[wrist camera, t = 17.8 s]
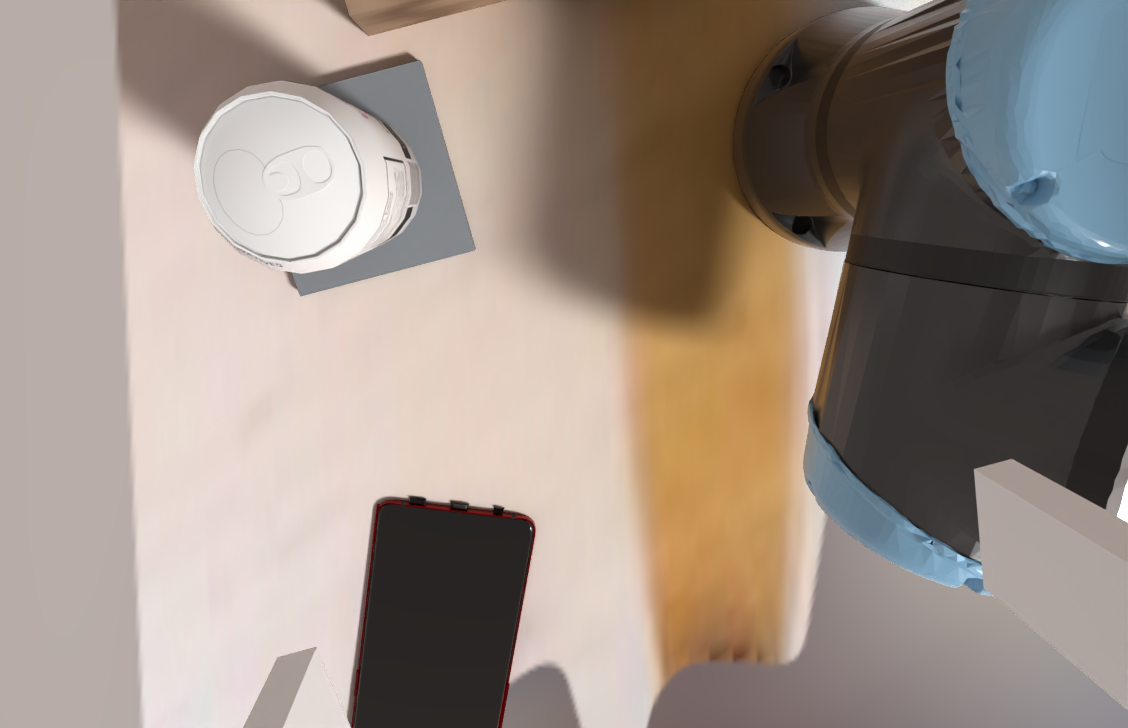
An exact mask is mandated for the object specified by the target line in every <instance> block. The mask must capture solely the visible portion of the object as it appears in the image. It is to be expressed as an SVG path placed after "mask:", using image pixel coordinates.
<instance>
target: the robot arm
mask: <svg viewBox="0 0 1128 728" xmlns="http://www.w3.org/2000/svg"><path fill="white" fill-rule="evenodd" d="M733 154H734V163H735V169H736V173H737V177H738V180H739V183H740V186H741V189H742V191H743V193H744V195H745V198H746V199H747V201H748V203H749V205H750V206H751V208H752V209H753V211H754V212H755V213H756V214H757V216H758V217H759V218H760V219H761V220H762V221H763V222H764V223H765V224H766V225H767V226H768V227H769V228H770V229H772V230H773V231H774V232H776V233H777V234H779V235H780V236H782V237H784V238H785V239H787V240H789V241H792V242H794V243H797V244H799V245H802V246H806V247H811V248H815V249H820V250H826V251H835V252H847V254H846V258H845V261H844V264H843V268H842V273H841V278H840V282H839V287H838V292H837V296H836V301H835V306H834V310H833V315H832V320H831V324H830V328H829V332H828V337H827V341H826V345H825V350H824V354H823V358H822V362H821V367H820V371H819V375H818V380H817V384H816V388H815V393H814V394H813V396H812V398H811V400H810V401H809V405H808V421H809V429H808V435H807V441H806V447H805V453H804V460H803V469H804V476H805V480H806V483H807V485H808V487H809V488H810V490H811V492H812V493H813V495H814V496H815V498H816V501H817V503H818V505H819V506H820V507H821V509H822V510H823V511H824V512H825V513H826V514H827V515H828V516H829V518H830V519H831V520H832V521H833V522H834V523H836V524H837V525H838V526H839V527H840V528H841V529H842V530H843V531H845V532H846V533H847V534H848V535H850V536H851V537H852V538H854V539H855V540H856V541H858V542H859V543H861V544H862V545H864V546H865V547H867V548H868V549H870V550H871V551H873V552H875V553H876V554H878V555H880V556H881V557H883V558H885V559H886V560H888V561H890V562H892V563H894V564H896V565H898V566H900V567H902V568H904V569H906V570H908V571H910V572H912V573H914V574H916V575H919V576H921V577H924V578H926V579H929V580H932V581H934V582H937V583H940V584H943V585H946V586H949V587H953V588H957V587H959V586H961V585H962V584H964V585H965V586H968V587H969V588H970V589H972V590H973V591H975V592H976V593H978V594H983V595H990V596H994V597H995V598H996V599H997V600H998V601H1000V602H1001V603H1002V604H1003V605H1004V606H1005V607H1007V608H1008V609H1009V610H1010V611H1012V612H1013V613H1014V614H1015V615H1016V616H1017V617H1018V618H1020V619H1021V620H1022V621H1023V622H1024V623H1026V624H1027V625H1028V626H1029V627H1030V628H1032V629H1033V630H1034V631H1035V632H1036V633H1037V634H1038V635H1040V636H1041V637H1042V638H1043V639H1044V640H1045V641H1047V642H1048V643H1049V644H1050V645H1051V646H1053V647H1054V648H1055V649H1056V650H1057V651H1059V652H1060V653H1061V654H1062V655H1063V656H1064V657H1066V658H1067V659H1068V660H1069V661H1070V662H1071V663H1073V664H1074V665H1075V666H1076V667H1077V668H1078V669H1080V670H1081V671H1082V672H1083V673H1084V674H1086V675H1087V676H1088V677H1089V678H1090V679H1092V680H1093V681H1094V682H1095V683H1096V684H1097V685H1099V686H1100V687H1101V688H1102V689H1103V690H1104V691H1106V692H1107V693H1108V694H1109V695H1110V696H1112V697H1113V698H1114V699H1115V700H1116V701H1117V702H1119V703H1120V704H1121V705H1122V706H1123V707H1124V708H1126V709H1127V710H1128V0H933V1H931V2H928V3H926V4H924V5H922V6H919V7H917V8H915V9H913V10H911V11H908V12H907V11H902V10H897V9H891V8H885V7H873V6H868V7H856V8H850V9H845V10H840V11H837V12H834V13H831V14H828V15H826V16H823V17H821V18H819V19H817V20H815V21H813V22H811V23H809V24H807V25H805V26H804V27H802V28H800V29H798V30H797V31H795V32H793V33H792V34H790V35H789V36H788V37H786V38H785V39H784V40H783V41H781V42H780V43H779V44H778V45H777V46H776V47H775V48H774V49H773V50H772V51H771V52H770V53H769V54H768V55H767V56H766V57H765V58H764V60H763V61H762V62H761V63H760V65H759V66H758V68H757V69H756V71H755V72H754V74H753V75H752V77H751V79H750V81H749V83H748V85H747V86H746V89H745V91H744V93H743V96H742V98H741V101H740V104H739V108H738V111H737V115H736V120H735V126H734V135H733ZM243 728H351V726H350V724H349V722H348V719H347V717H346V715H345V712H344V710H343V708H342V705H341V703H340V701H339V698H338V696H337V694H336V691H335V689H334V687H333V684H332V682H331V680H330V677H329V675H328V673H327V670H326V668H325V666H324V663H323V661H322V659H321V656H320V654H319V652H318V649H317V647H314V648H310V649H307V650H303V651H299V652H296V653H292V654H288V655H285V656H281V657H278V658H277V660H276V662H275V664H274V666H273V668H272V670H271V672H270V674H269V676H268V678H267V680H266V682H265V684H264V686H263V688H262V690H261V692H260V694H259V697H258V699H257V701H256V703H255V705H254V707H253V709H252V711H251V713H250V715H249V717H248V719H247V721H246V723H245V725H244V727H243Z"/></svg>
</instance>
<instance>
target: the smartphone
mask: <svg viewBox="0 0 1128 728" xmlns="http://www.w3.org/2000/svg"><path fill="white" fill-rule="evenodd" d="M412 500H413V502H420V500H421V499H419V498H418V499H416V500H415V499H413V498H410V501H412ZM410 501H405V500H386V501H384V502H382V503H381V504H377V509H376V517H375V526H374V534H373V543H372V544H373V545H372V553H371V562H370V571H369V579H368V588H367V597H366V605H365V614H364V623H363V631H362V640H361V649H360V657H359V666H358V669H357V673H356V682H355V690H354V696H355V700H354V709H353V717H352V726H351V728H353V726H354V728H502V723H503V717H504V711H505V706H506V700H507V695H508V689H509V677H510V672H511V666H512V661H513V655H514V650H515V644H516V639H517V633H518V627H519V622H520V616H521V611H522V605H523V600H524V594H525V589H526V583H527V578H528V572H529V566H530V561H531V555H532V550H533V544H534V539H535V532H536V529H535V523H534V521H533V520H532V519H531V518H530V517H528V516H526V515H521V514H514V513H506V512H503V509H504V508H503V509H496V508H495V507H494V511H489V510H480V509H472V508H468V505H469V503H468V505H462V504H454V503H452V501H451V506H447V505H438V504H430V503H425V501H426V500H424V499H423V500H421V502H420V503H421V504H418V503H416V504H415V503H413V502H410ZM422 503H425V505H424V504H422ZM379 505H380V506H379ZM381 507H382V508H381ZM380 508H381V511H380V514H379V509H380ZM378 515H379V519H378ZM377 524H378V527H377ZM532 524H533V526H534V534H533V540H532V546H531V551H530V545H531V539H532V533H533V528H532ZM376 532H377V536H376ZM375 541H376V544H375ZM374 545H375V553H374V561H373V552H374ZM529 551H530V557H529V562H528V556H529ZM372 561H373V570H372ZM527 562H528V568H527ZM526 568H527V573H526ZM371 570H372V578H371ZM525 573H526V579H525ZM370 578H371V587H370ZM524 579H525V584H524ZM523 584H524V590H523ZM369 587H370V595H369ZM522 590H523V595H522ZM368 596H369V604H368ZM521 596H522V601H521ZM520 601H521V606H520ZM367 605H368V613H367ZM519 607H520V612H519ZM518 612H519V617H518ZM366 614H367V621H366ZM517 618H518V623H517ZM365 623H366V630H365ZM516 623H517V628H516ZM515 629H516V634H515ZM364 631H365V638H364ZM514 635H515V639H514ZM363 640H364V647H363ZM513 640H514V645H513ZM512 646H513V650H512ZM362 648H363V655H362ZM511 651H512V656H511ZM361 657H362V664H361ZM510 657H511V662H510ZM509 663H510V667H509ZM360 666H361V670H360ZM508 668H509V673H508ZM507 674H508V678H507ZM506 679H507V683H506ZM357 696H358V698H357ZM356 700H357V707H356ZM355 709H356V715H355ZM354 717H355V724H354Z"/></svg>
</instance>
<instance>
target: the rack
mask: <svg viewBox="0 0 1128 728" xmlns="http://www.w3.org/2000/svg"><path fill="white" fill-rule="evenodd" d="M501 1H505V0H345V3H346V6H347V9H348V13H349V16H350V17H351V18H352V19H353V20H354V21H355V22H356V23H357V24H358V26H359V27H360V28H361V29H362V30H363V31H364V32H365V33H366V34H367V35H368V36H370V35H374V34H378V33H381V32H385V31H389V30H393V29H397V28H401V27H405V26H408V25H412V24H416V23H420V22H424V21H428V20H432V19H435V18H439V17H443V16H447V15H451V14H455V13H458V12H462V11H466V10H470V9H474V8H478V7H482V6H485V5H489V4H493V3H497V2H501Z"/></svg>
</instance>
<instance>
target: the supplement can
mask: <svg viewBox="0 0 1128 728" xmlns="http://www.w3.org/2000/svg"><path fill="white" fill-rule="evenodd" d="M193 168H194V175H195V181H196V188H197V195H198V197H199V199H200V201H201V203H202V205H203V207H204V209H205V211H206V213H207V215H208V217H209V219H210V221H211V223H212V224H213V226H214V228H215V229H216V230H217V231H218V232H219V233H220V234H221V235H222V236H223V237H224V238H225V239H226V240H227V241H228V242H229V243H230V244H231V245H232V246H233V247H234V248H235V249H236V250H237V251H238V252H239V253H240V254H242V255H244V256H246V257H248V258H250V259H252V260H254V261H256V262H258V263H260V264H262V265H263V266H265V267H267V268H269V269H275V270H281V271H287V272H294V273H300V274H304V273H309V272H314V271H319V270H325V269H330V268H334V267H336V266H338V265H340V264H342V263H344V262H347V261H349V260H351V259H353V258H355V257H357V256H359V255H361V254H363V253H366V252H368V251H370V250H372V249H374V248H376V247H378V246H380V245H382V244H384V243H386V242H388V241H389V240H391V239H392V238H394V237H396V236H397V235H399V234H401V233H402V232H403V231H404V230H405V228H406V227H407V226H408V224H409V223H410V222H411V220H412V219H413V218H414V216H415V215H416V212H417V209H418V205H419V202H420V199H421V195H422V182H421V169H420V167H419V164H418V162H417V159H416V157H415V155H414V152H413V150H412V147H411V146H410V145H409V144H408V143H407V142H406V140H405V139H404V138H403V137H402V136H401V135H400V134H399V132H398V131H397V130H396V129H395V128H393V127H391V126H390V125H388V124H386V123H385V122H383V121H381V120H379V119H378V118H376V117H374V116H372V115H370V114H368V113H366V112H364V111H362V110H360V109H358V108H357V107H355V106H353V105H351V104H349V103H347V102H345V101H343V100H341V99H339V98H337V97H335V96H333V95H331V94H329V93H327V92H325V91H323V90H321V89H319V88H317V87H314V86H309V85H304V84H299V83H293V82H288V81H283V80H279V81H274V82H268V83H263V84H257V85H252V86H247V87H246V88H244V89H243V90H241V91H239V92H238V93H236V94H235V95H233V96H232V97H230V98H228V99H227V100H225V101H224V102H222V103H221V104H220V105H219V106H218V107H217V109H216V110H215V112H214V113H213V115H212V116H211V118H210V119H209V121H208V122H207V123H206V125H205V126H204V128H203V129H202V131H201V135H200V136H199V141H198V145H197V150H196V155H195V159H194V164H193Z"/></svg>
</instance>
